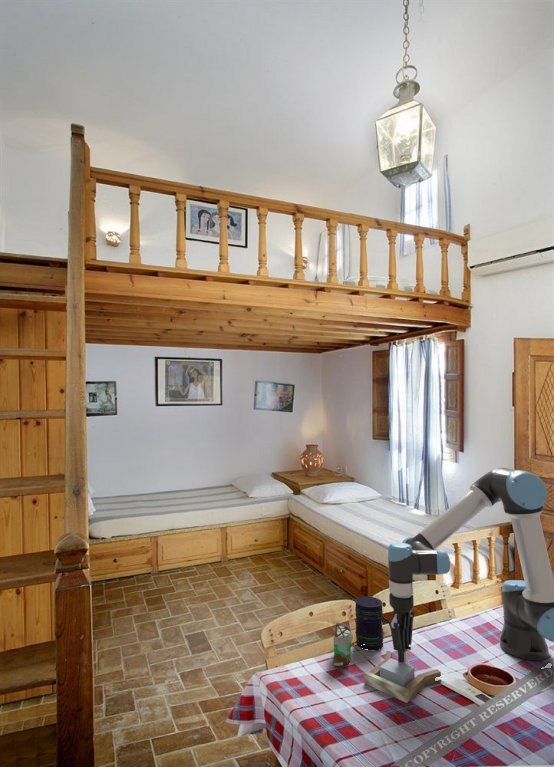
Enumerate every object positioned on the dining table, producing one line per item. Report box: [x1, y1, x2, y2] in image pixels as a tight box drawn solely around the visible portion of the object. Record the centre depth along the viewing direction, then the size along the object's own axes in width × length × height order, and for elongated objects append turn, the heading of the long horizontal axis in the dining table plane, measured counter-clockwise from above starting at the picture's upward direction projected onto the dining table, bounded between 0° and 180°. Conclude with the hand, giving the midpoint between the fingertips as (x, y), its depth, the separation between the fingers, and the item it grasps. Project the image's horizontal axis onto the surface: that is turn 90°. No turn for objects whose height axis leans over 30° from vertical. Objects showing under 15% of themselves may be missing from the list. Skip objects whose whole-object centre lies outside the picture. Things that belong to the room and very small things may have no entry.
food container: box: [333, 622, 354, 669], centre depth 147 cm, size 12×6×10 cm, turn 168°
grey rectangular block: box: [380, 657, 416, 687], centre depth 135 cm, size 8×7×4 cm
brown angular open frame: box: [363, 650, 442, 704], centre depth 136 cm, size 19×18×3 cm
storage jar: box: [354, 596, 384, 651], centre depth 159 cm, size 10×10×15 cm
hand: (403, 671), depth 138 cm, fingers closed
